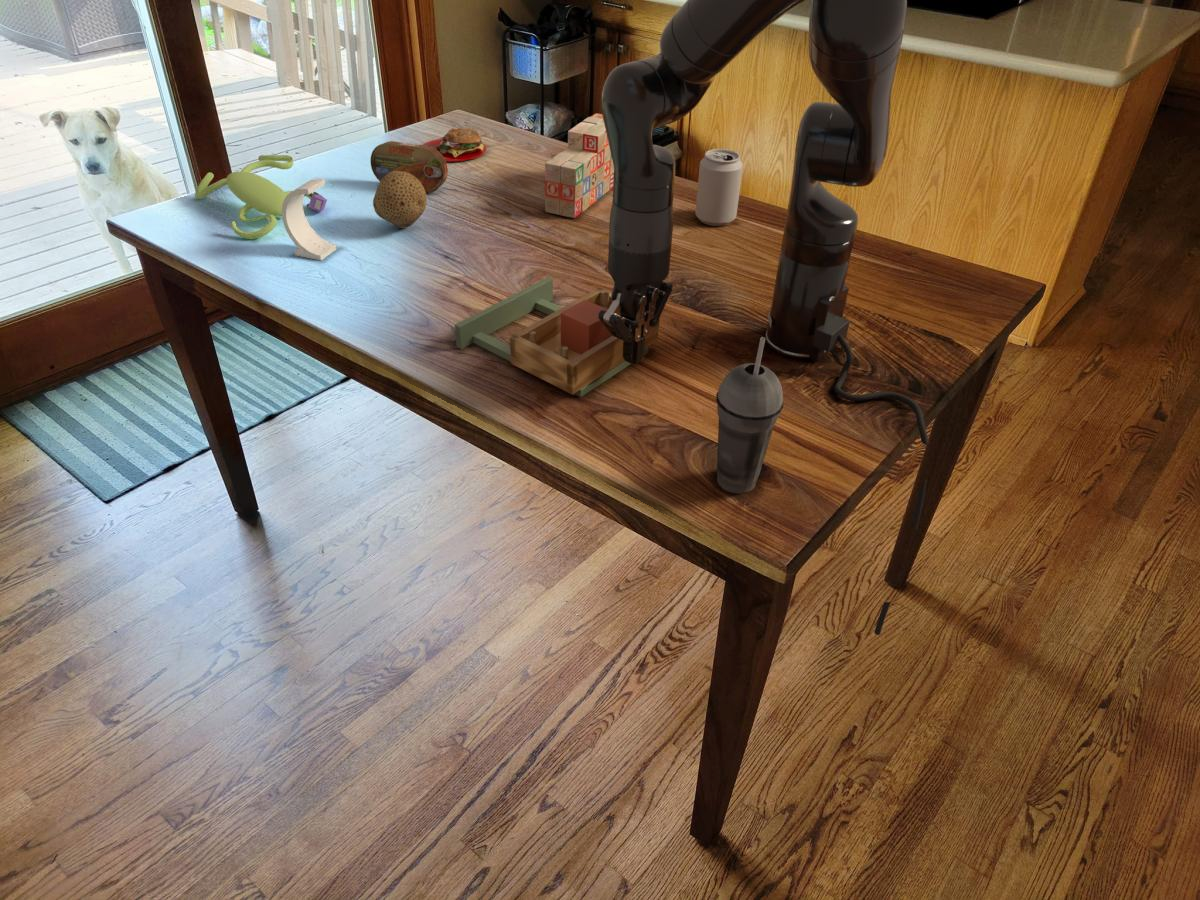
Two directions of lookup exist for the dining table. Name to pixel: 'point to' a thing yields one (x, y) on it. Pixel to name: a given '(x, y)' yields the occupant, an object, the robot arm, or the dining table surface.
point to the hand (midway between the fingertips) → (633, 360)
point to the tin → (410, 163)
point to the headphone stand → (304, 224)
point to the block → (582, 327)
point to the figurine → (257, 193)
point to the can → (718, 187)
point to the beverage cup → (746, 423)
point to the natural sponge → (400, 199)
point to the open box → (568, 350)
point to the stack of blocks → (579, 170)
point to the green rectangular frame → (509, 311)
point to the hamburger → (459, 145)
